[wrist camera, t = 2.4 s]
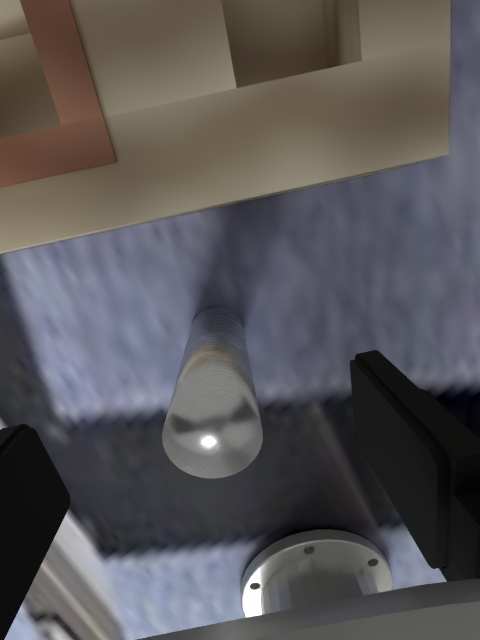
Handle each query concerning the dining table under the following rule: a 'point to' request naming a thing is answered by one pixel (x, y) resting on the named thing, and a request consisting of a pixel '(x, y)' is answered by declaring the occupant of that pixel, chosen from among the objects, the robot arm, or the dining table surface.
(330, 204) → the dining table surface
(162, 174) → the block
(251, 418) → the pin
